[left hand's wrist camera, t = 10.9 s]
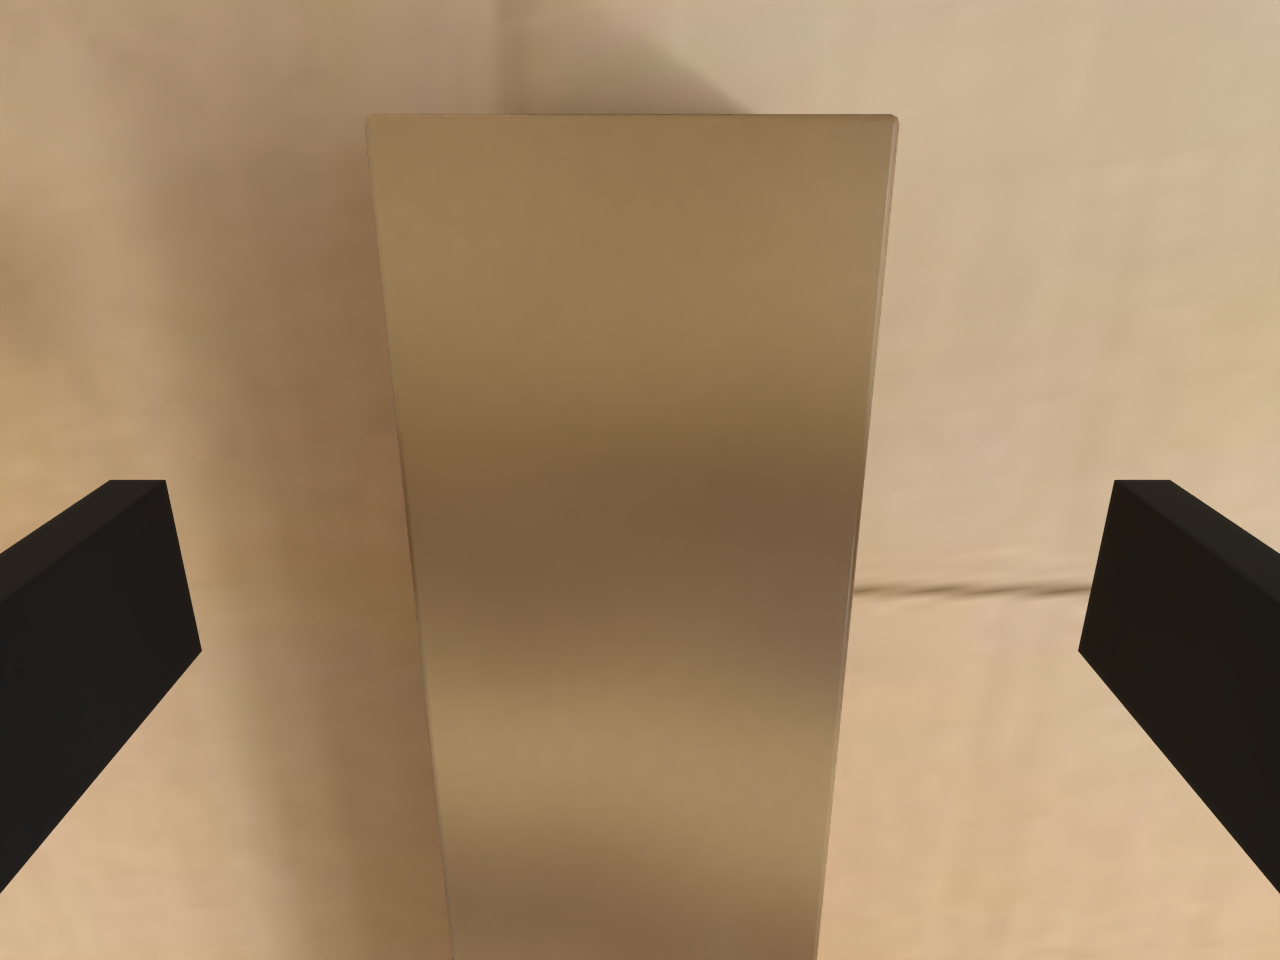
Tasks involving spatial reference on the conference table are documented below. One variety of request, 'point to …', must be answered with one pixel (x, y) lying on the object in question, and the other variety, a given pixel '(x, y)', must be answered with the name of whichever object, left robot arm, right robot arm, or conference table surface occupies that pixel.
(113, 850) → the conference table surface
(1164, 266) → the conference table surface
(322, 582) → the conference table surface
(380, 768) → the conference table surface
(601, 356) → the post
